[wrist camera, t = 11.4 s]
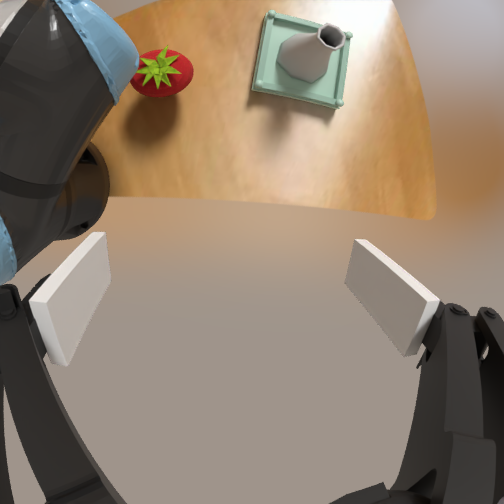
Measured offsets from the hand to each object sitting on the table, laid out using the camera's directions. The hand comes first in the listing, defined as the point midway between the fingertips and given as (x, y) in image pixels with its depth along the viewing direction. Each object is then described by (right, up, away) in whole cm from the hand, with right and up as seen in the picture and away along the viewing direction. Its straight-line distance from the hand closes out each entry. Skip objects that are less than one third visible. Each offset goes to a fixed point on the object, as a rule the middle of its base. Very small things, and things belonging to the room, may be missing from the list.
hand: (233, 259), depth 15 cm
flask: (+8, +26, +17) cm, 32 cm away
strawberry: (-10, +23, +17) cm, 30 cm away
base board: (+8, +26, +18) cm, 33 cm away
